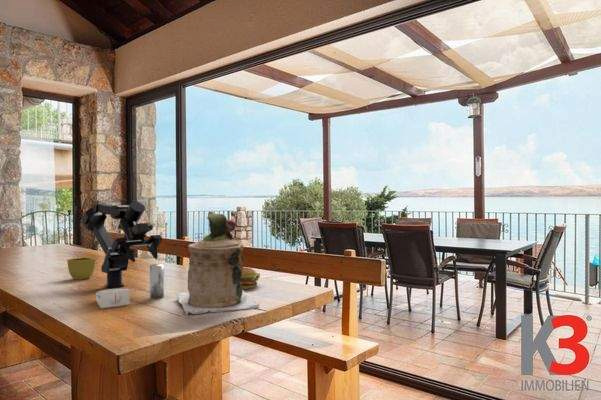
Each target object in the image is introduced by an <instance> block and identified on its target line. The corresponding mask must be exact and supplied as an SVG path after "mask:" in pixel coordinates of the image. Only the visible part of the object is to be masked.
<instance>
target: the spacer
mask: <svg viewBox="0 0 601 400" xmlns="http://www.w3.org/2000/svg"><path fill="white" fill-rule="evenodd" d="M164 265H165V264H163V263H153V264H149V299H151V300H158V299H159V300H160V299H164V297H165V290H164V289H165V287H164V286H165V279H164V277H165V272H164V270H165V269H164Z"/></svg>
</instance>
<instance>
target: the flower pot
mask: <svg viewBox="0 0 601 400" xmlns="http://www.w3.org/2000/svg"><path fill="white" fill-rule="evenodd" d="M96 260H97V259H96V258H94V257H93V258H92V257H86V256H85V257H77V258H70V259H69V258H68V259H66V261H67V268H68V273H69V275H70V276H71V278H72V279H74V280H79V281H81V280H85V279H87V280H88V279H90V278H91V277H92V275H93V273H94V271H95V266H96Z"/></svg>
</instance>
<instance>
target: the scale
mask: <svg viewBox="0 0 601 400" xmlns="http://www.w3.org/2000/svg"><path fill="white" fill-rule="evenodd" d="M95 298H96V299H95V301H96V303H97V305H98V306H99V308H100V309H105V308H106V309H107V308H113V307H122V306H128V305H130V303H131V302H130V288H108V289H103V290H99V291H96V292H95Z"/></svg>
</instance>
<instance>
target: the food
mask: <svg viewBox="0 0 601 400" xmlns="http://www.w3.org/2000/svg"><path fill="white" fill-rule="evenodd" d="M243 267H244V269H243V272H242V276H241V279H240V284H241V286H242V289H243V290H249V289H253V288H256V287H257V285H258V281H259V279H260V275H261V274H260V273H259V272H256V270H255V269H253V268H252V267H248V266H243Z"/></svg>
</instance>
